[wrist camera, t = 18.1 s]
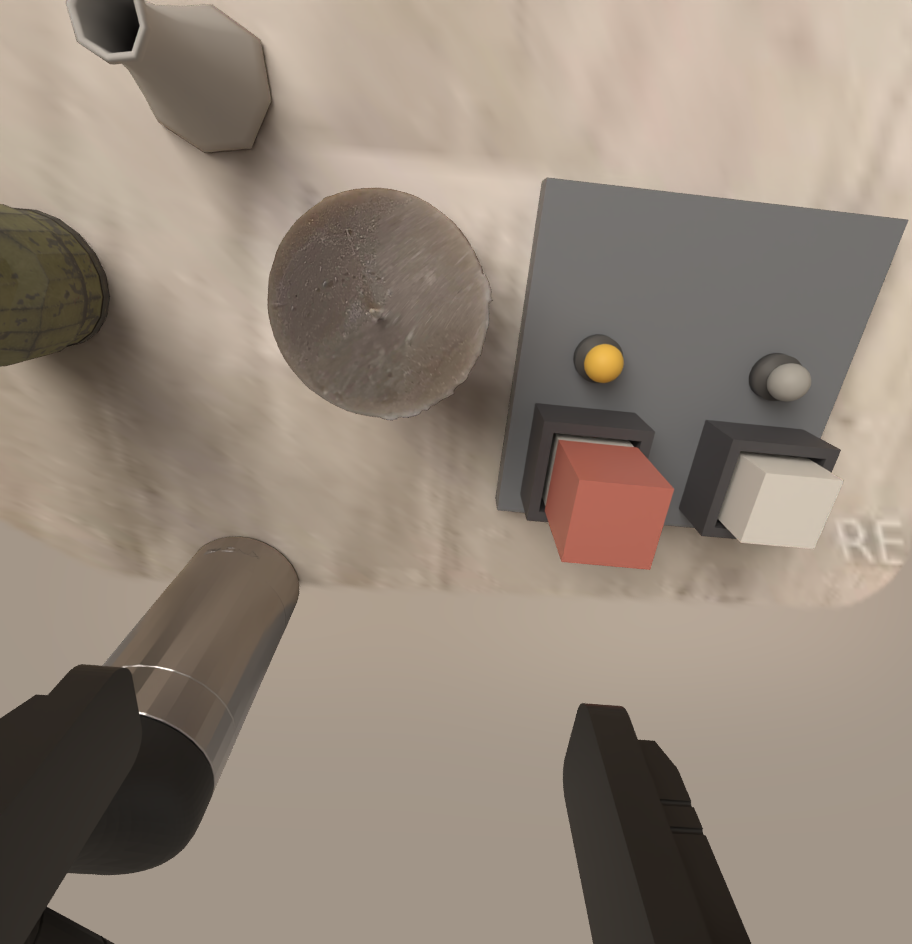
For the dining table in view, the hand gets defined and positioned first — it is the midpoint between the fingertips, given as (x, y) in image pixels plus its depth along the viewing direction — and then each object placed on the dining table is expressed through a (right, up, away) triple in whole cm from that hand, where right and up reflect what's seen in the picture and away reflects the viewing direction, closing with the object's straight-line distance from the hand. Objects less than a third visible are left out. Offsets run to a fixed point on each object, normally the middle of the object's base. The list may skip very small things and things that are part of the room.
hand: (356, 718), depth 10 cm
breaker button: (+22, +4, +26) cm, 35 cm away
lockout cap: (+10, +4, +24) cm, 27 cm away
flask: (-12, +27, +21) cm, 37 cm away
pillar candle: (-1, +17, +26) cm, 31 cm away
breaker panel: (+17, +11, +28) cm, 35 cm away
